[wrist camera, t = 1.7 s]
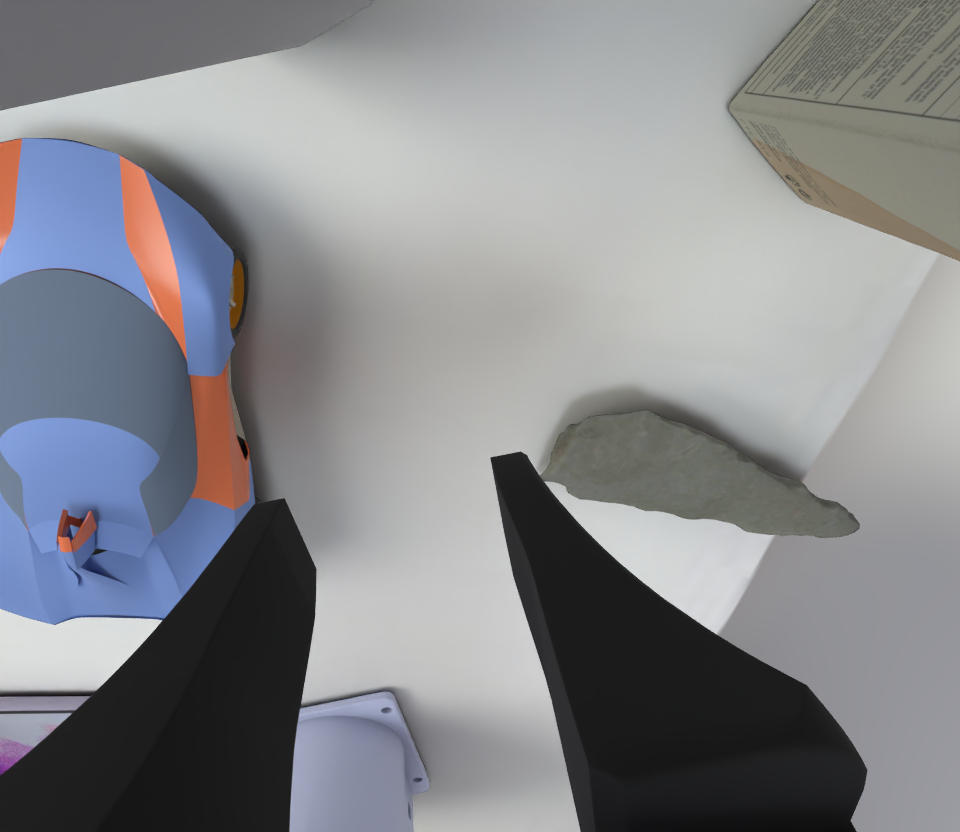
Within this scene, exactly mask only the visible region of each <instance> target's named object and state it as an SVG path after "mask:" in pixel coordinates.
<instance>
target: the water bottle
mask: <svg viewBox="0 0 960 832" xmlns="http://www.w3.org/2000/svg"><path fill="white" fill-rule="evenodd" d="M372 1H373V0H0V110H4V109H9V108H14V107H18V106H23V105H28V104H32V103H37V102H42V101H46V100H51V99H56V98H60V97H65V96H70V95H74V94H79V93H84V92H88V91H93V90H98V89H102V88H107V87H112V86H116V85H121V84H126V83H130V82H135V81H140V80H144V79H149V78H154V77H158V76H163V75H168V74H172V73H177V72H182V71H186V70H191V69H196V68H200V67H205V66H210V65H214V64H219V63H224V62H228V61H233V60H237V59H242V58H247V57H251V56H256V55H261V54H265V53H270V52H275V51H279V50H284V49H289V48H293V47H298V46H302V45H304V44H305V43H307V42H309V41H310V40H312V39H314V38H315V37H317V36H319V35H320V34H322V33H324V32H325V31H327V30H329V29H330V28H332V27H334V26H335V25H337V24H339V23H340V22H342V21H344V20H345V19H347V18H349V17H350V16H352V15H354V14H355V13H357V12H359V11H360V10H362V9H364V8H365V7H367V6H369V5H370V4H371V3H372Z"/></svg>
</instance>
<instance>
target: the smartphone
mask: <svg viewBox="0 0 960 832" xmlns="http://www.w3.org/2000/svg"><path fill="white" fill-rule="evenodd" d="M89 697H90V696H53V697H0V775H2V774H3V773H4V772H5V771H7V770H8V769H9V768H10V767H11V766H13V765H14V764H15V763H16V762H17V761H19V760H20V759H21V758H22V757H23V756H24V755H26V754H27V753H28V752H29V751H30V750H32V749H33V748H34V747H35V746H36V745H38V744H39V743H40V742H41V741H42V740H43V739H44V738H46V737H47V736H48V735H49V734H50V733H51V732H52V731H53V730H54V729H55V728H57V727H58V726H59V725H60V724H61V723H62V722H63V721H64V720H65V719H66V718H67V717H69V716H70V715H71V714H72V713H73V712H74V711H75V710H76V709H77V708H78V707H80V706H81V705H82V704H83V703H84V702H85V701H86V700H87V699H88V698H89Z"/></svg>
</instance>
